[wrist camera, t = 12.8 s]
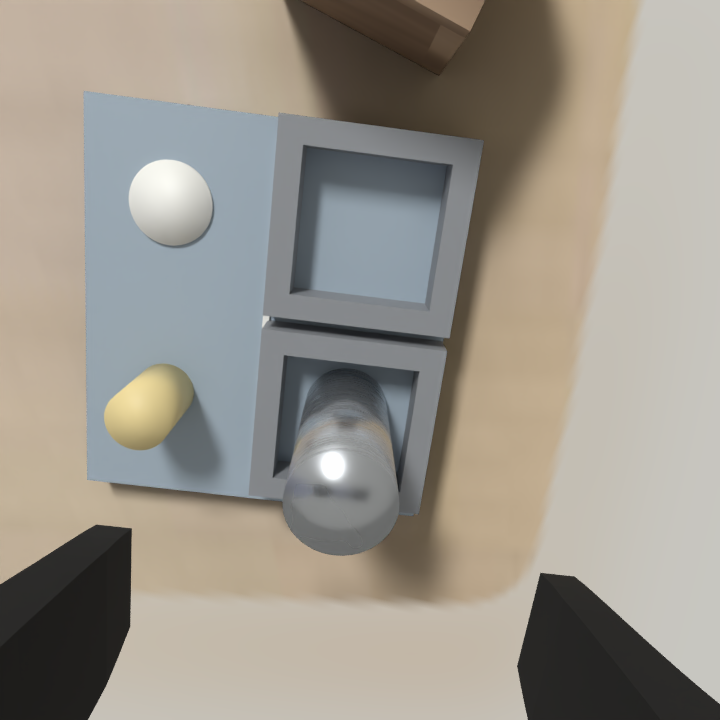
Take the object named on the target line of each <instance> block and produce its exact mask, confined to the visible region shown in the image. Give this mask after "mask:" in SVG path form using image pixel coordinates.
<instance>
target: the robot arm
mask: <svg viewBox="0 0 720 720" xmlns="http://www.w3.org/2000/svg"><path fill="white" fill-rule="evenodd" d="M131 537H132V529H131V528H122V527H113V526H103V525H95V526H93V527H91V528H90V529H88V530H86V531H85V532H83V533H81V534H80V535H78V536H77V537H75V538H73V539H72V540H70V541H69V542H67V543H65V544H64V545H62V546H61V547H59V548H58V549H56V550H54V551H53V552H51V553H50V554H48V555H47V556H45V557H43V558H42V559H40V560H39V561H37V562H36V563H34V564H32V565H31V566H29V567H28V568H26V569H24V570H23V571H21V572H20V573H18V574H16V575H15V576H13V577H11V578H10V579H8V580H7V581H5V582H3V583H2V584H0V720H88V718H89V717H90V715H91V713H92V711H93V709H94V707H95V705H96V704H97V702H98V700H99V698H100V696H101V694H102V692H103V690H104V689H105V687H106V685H107V682H108V680H109V678H110V675H111V673H112V671H113V668H114V666H115V663H116V661H117V658H118V656H119V653H120V651H121V648H122V646H123V643H124V641H125V638H126V636H127V633H128V631H129V628H130V603H131ZM517 667H518V672H519V678H520V683H521V688H522V693H523V698H524V704H525V708H526V713H527V717H528V720H720V704H719V703H718V702H716V701H715V700H714V699H713V698H712V697H710V696H709V695H708V694H707V693H706V692H704V691H703V690H702V689H701V688H700V687H698V686H697V685H696V684H695V683H694V682H693V681H691V680H690V679H689V678H688V677H687V676H685V675H684V674H683V673H682V672H681V671H680V670H679V669H677V668H676V667H675V666H674V665H673V664H672V663H671V662H669V661H668V660H667V659H666V658H665V657H664V656H663V655H661V654H660V653H659V652H658V651H657V650H656V649H655V648H654V647H652V645H650V644H649V643H648V642H647V641H646V640H645V639H643V637H642V636H641V635H639V634H638V633H637V632H636V631H635V630H634V629H633V628H632V627H631V626H630V625H628V624H627V623H626V622H625V621H624V620H623V619H622V618H621V617H620V616H619V615H618V614H616V613H615V612H614V611H613V610H612V609H611V608H610V607H609V606H608V605H607V604H605V603H604V602H603V601H602V600H601V599H600V598H599V597H598V596H597V595H595V594H594V593H593V592H592V591H591V590H590V589H589V588H588V587H586V586H585V585H584V584H583V583H582V582H580V581H579V580H578V579H577V578H575V577H573V576H564V575H555V574H545V573H541V574H540V577H539V581H538V585H537V590H536V594H535V598H534V601H533V606H532V609H531V613H530V618H529V622H528V625H527V630H526V634H525V637H524V641H523V645H522V649H521V654H520V658H519V661H518V665H517Z"/></svg>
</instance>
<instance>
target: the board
mask: <svg viewBox="0 0 720 720" xmlns="http://www.w3.org/2000/svg"><path fill="white" fill-rule="evenodd" d="M483 143H484V140H478V139H471V138H463V137H456V136H449V135H441V134H434V133H426V132H419V131H411V130H404V129H396V128H389V127H382V126H374V125H367V124H359V123H352V122H344V121H337V120H329V119H322V118H315V117H307V116H300V115H292V114H285V113H279V116H278V117H274V116H266V115H259V114H252V113H244V112H237V111H229V110H222V109H214V108H207V107H199V106H192V105H184V104H177V103H170V102H162V101H155V100H147V99H140V98H132V97H125V96H117V95H110V94H102V93H95V92H87V91H84V175H85V283H86V391H87V480H93V481H102V482H111V483H120V484H129V485H138V486H147V487H156V488H165V489H174V490H183V491H192V492H201V493H210V494H219V495H228V496H237V497H246V498H255V499H264V500H273V501H282V502H283V493H284V489H285V485H286V481H287V477H288V472H289V468H290V464H291V460H292V455H293V451H294V447H295V443H296V439H297V434H298V430H299V426H300V422H301V417H302V413H303V409H304V405H305V401H306V397H307V393H308V391H309V389H310V387H311V386H312V384H313V383H314V382H315V381H316V380H317V379H318V378H319V377H320V376H322V375H323V374H325V373H327V372H329V371H332V370H336V369H342V368H350V369H356V370H359V371H362V372H364V373H366V374H368V375H369V376H371V377H372V378H373V379H374V380H375V381H376V382H377V383H378V384H379V385H380V387H381V389H382V390H383V393H384V395H385V399H386V406H387V413H388V420H389V428H390V435H391V442H392V450H393V457H394V464H395V471H396V479H397V486H398V493H399V503H400V504H399V513H398V514H399V515H408V516H413V515H414V514H419V510H420V505H421V499H422V493H423V487H424V482H425V476H426V470H427V464H428V459H429V453H430V447H431V441H432V436H433V430H434V424H435V419H436V413H437V407H438V401H439V396H440V390H441V384H442V378H443V373H444V367H445V361H446V355H447V350H446V348H445V346H444V344H443V340H444V338H450V333H451V327H452V321H453V315H454V310H455V304H456V298H457V292H458V287H459V281H460V275H461V269H462V264H463V258H464V252H465V246H466V241H467V235H468V229H469V224H470V218H471V212H472V206H473V201H474V195H475V189H476V183H477V178H478V172H479V166H480V160H481V155H482V149H483Z"/></svg>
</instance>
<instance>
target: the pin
mask: <svg viewBox="0 0 720 720" xmlns="http://www.w3.org/2000/svg"><path fill="white" fill-rule="evenodd" d="M399 504H400V503H399V493H398V486H397V479H396V471H395V464H394V457H393V450H392V442H391V435H390V428H389V420H388V413H387V406H386V399H385V395H384V393H383V390H382V389H381V387H380V385H379V384H378V383H377V382H376V381H375V380H374V379H373V378H372V377H371V376H369V375H368V374H366V373H364V372H362V371H359V370H356V369H350V368H342V369H336V370H332V371H329V372H327V373H325V374H323V375H322V376H320V377H319V378H318V379H317V380H316V381H315V382H314V383H313V384H312V386H311V387H310V389H309V391H308V393H307V397H306V401H305V405H304V409H303V413H302V417H301V422H300V426H299V430H298V434H297V439H296V443H295V447H294V451H293V455H292V460H291V464H290V468H289V472H288V477H287V481H286V485H285V489H284V493H283V513H284V517H285V520H286V522H287V524H288V526H289V528H290V530H291V531H292V533H293V534H294V535H295V536H296V537H297V538H298V539H299V540H300V541H301V542H302V543H304V544H305V545H307V546H308V547H310V548H312V549H314V550H316V551H319V552H321V553H325V554H329V555H340V556H344V555H353V554H358V553H361V552H364V551H366V550H369V549H371V548H373V547H374V546H376V545H377V544H379V543H380V542H381V541H382V540H384V539H385V537H386V536H387V535H388V534H389V533H390V531H391V530H392V529H393V527H394V525H395V523H396V520H397V517H398V513H399Z"/></svg>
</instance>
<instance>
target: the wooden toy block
mask: <svg viewBox="0 0 720 720" xmlns="http://www.w3.org/2000/svg"><path fill="white" fill-rule="evenodd" d="M300 1H302V2H304V3H306V4H308V5H310V6H311V7H313V8H315V9H317V10H319V11H321V12H323V13H324V14H326V15H328V16H330V17H332V18H334V19H335V20H337V21H339V22H341V23H343V24H345V25H347V26H348V27H350V28H352V29H354V30H356V31H358V32H359V33H361V34H363V35H365V36H367V37H369V38H371V39H372V40H374V41H376V42H378V43H380V44H382V45H384V46H385V47H387V48H389V49H391V50H393V51H395V52H396V53H398V54H400V55H402V56H404V57H406V58H408V59H409V60H411V61H413V62H415V63H417V64H419V65H420V66H422V67H424V68H426V69H428V70H430V71H432V72H433V73H435V74H437V75H440V73H441V72H442V71H443V69H444V68H445V66H446V65H447V63H448V62H449V61H450V59H451V58H452V56H453V55H454V54H455V52H456V51H457V49H458V48H459V46H460V45H461V44H462V42H463V41H464V39H465V38H466V37H467V35H468V34H469V32H470V31H471V29H472V27H473V24H474V22H475V20H476V18H477V16H478V14H479V12H480V10H481V8H482V6H483V4H484V2H485V0H300Z"/></svg>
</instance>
